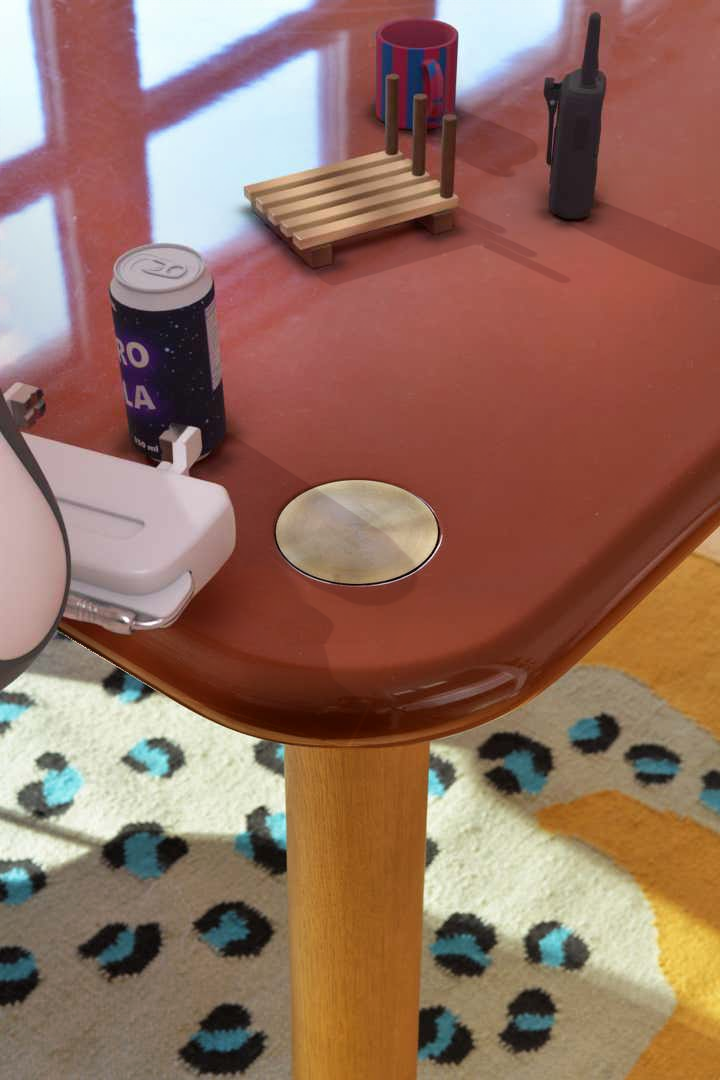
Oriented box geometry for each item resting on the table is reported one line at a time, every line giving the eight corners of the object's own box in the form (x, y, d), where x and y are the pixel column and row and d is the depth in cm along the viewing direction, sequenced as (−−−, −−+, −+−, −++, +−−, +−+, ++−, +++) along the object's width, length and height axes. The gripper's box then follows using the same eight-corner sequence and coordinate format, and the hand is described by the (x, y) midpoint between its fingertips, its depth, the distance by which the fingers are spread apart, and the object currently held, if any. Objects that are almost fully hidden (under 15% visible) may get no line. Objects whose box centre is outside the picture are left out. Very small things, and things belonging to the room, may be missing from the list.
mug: (448, 95, 118) (451, 16, 113) (467, 146, 110) (471, 64, 106) (371, 98, 117) (371, 19, 113) (385, 150, 110) (386, 67, 105)
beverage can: (159, 407, 83) (137, 231, 76) (243, 427, 82) (230, 249, 74) (114, 460, 80) (86, 281, 72) (201, 482, 78) (182, 301, 70)
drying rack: (303, 271, 96) (299, 161, 90) (242, 212, 102) (235, 106, 97) (460, 227, 100) (466, 120, 95) (392, 173, 107) (394, 69, 101)
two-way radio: (590, 226, 100) (615, 22, 90) (530, 221, 101) (548, 18, 91) (594, 191, 104) (618, -8, 94) (536, 186, 105) (554, -11, 95)
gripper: (150, 590, 57) (286, 410, 67) (-239, 475, 63) (-62, 324, 73) (164, 691, 62) (290, 508, 71) (-201, 574, 67) (-39, 419, 77)
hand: (109, 414), depth 72 cm, fingers open, 8 cm apart
